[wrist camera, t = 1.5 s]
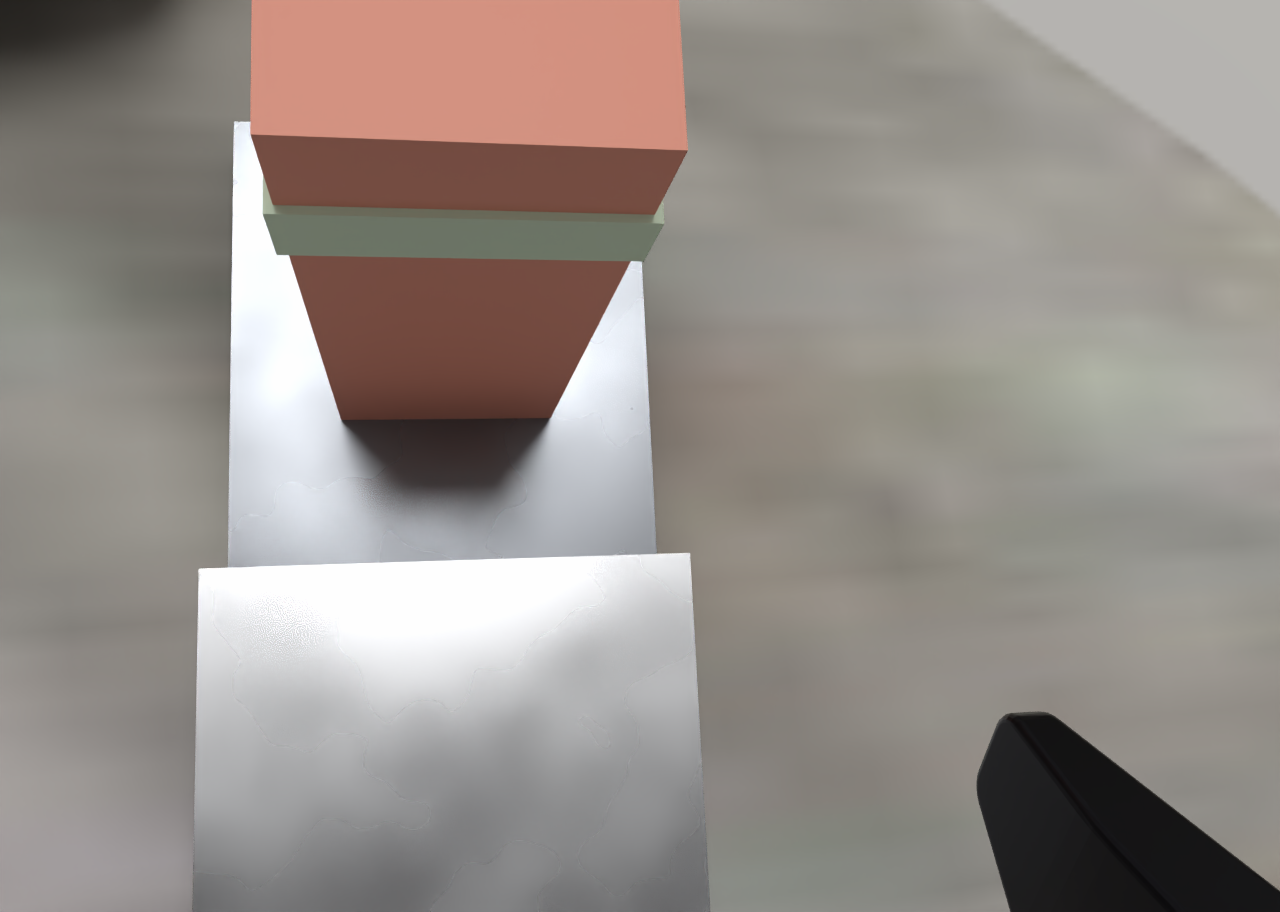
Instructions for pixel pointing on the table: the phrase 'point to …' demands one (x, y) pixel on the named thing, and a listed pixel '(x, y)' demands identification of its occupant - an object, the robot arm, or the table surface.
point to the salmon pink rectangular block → (463, 186)
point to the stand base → (421, 457)
